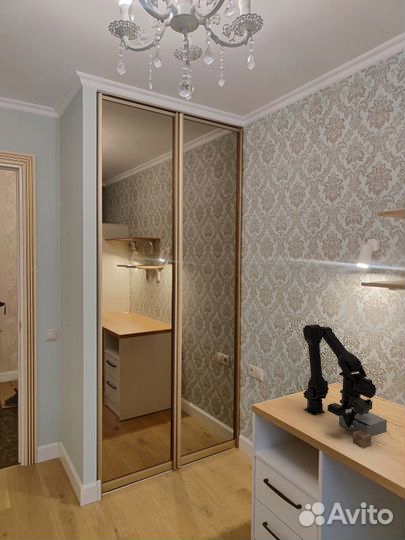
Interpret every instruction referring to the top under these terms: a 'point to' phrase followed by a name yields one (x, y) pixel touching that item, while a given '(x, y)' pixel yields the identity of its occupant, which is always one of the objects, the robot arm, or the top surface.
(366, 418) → the housing
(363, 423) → the disc
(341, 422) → the tray
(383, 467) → the top surface
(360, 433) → the walnut block
